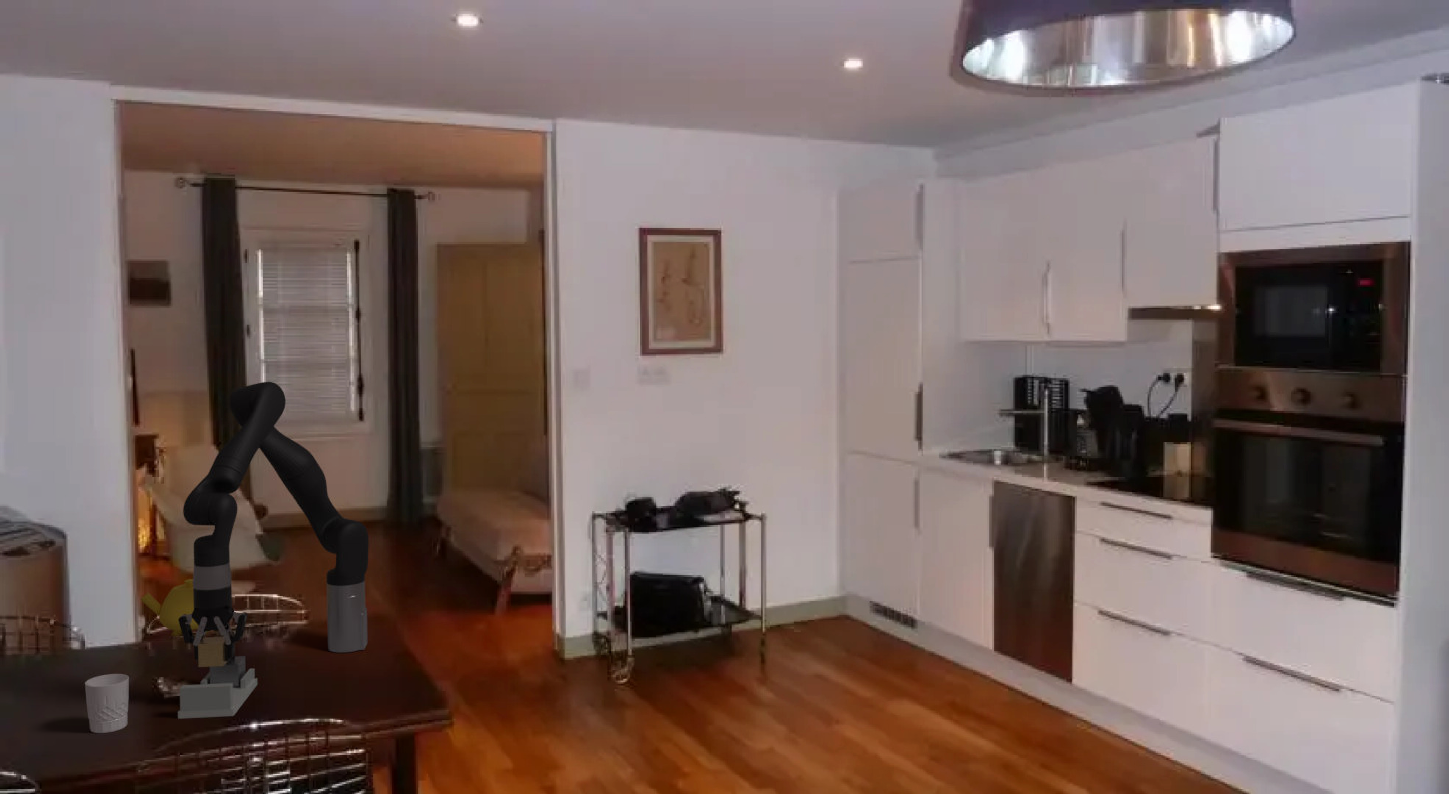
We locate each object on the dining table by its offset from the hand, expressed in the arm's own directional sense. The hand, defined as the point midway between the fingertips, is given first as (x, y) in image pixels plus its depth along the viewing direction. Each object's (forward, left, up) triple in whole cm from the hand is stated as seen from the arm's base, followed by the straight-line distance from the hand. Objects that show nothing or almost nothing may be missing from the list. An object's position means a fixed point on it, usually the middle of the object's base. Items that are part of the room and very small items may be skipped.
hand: (214, 660), depth 239 cm
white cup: (+18, +11, -10) cm, 23 cm away
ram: (0, -9, -8) cm, 12 cm away
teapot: (+25, -60, -10) cm, 66 cm away
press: (0, -2, -10) cm, 10 cm away
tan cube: (0, 0, 0) cm, 0 cm away
